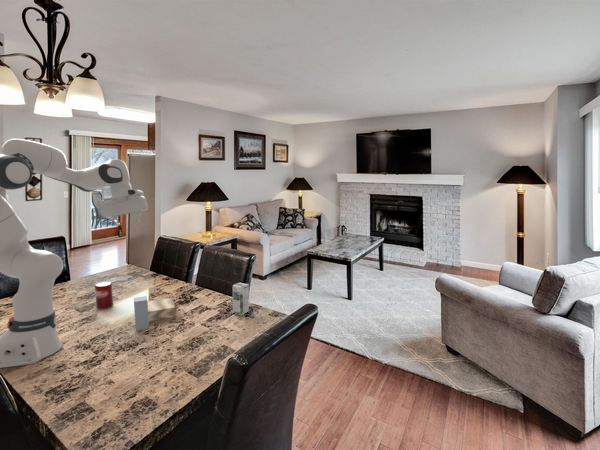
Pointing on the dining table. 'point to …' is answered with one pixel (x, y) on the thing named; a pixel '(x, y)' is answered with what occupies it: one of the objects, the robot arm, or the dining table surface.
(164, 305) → the birch block
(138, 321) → the slate block
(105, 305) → the soda can
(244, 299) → the syrup box
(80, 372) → the dining table surface
